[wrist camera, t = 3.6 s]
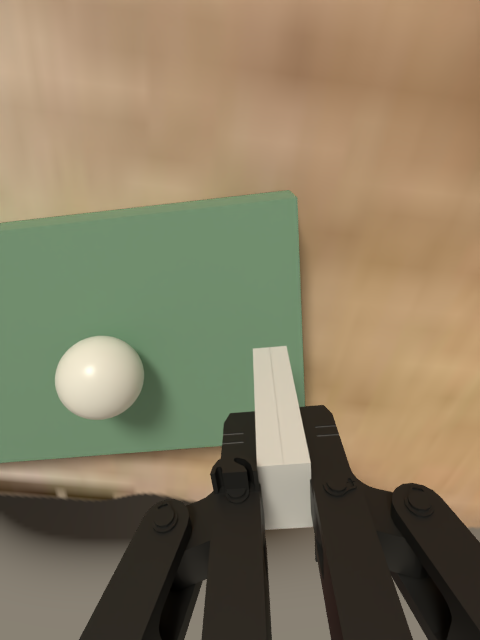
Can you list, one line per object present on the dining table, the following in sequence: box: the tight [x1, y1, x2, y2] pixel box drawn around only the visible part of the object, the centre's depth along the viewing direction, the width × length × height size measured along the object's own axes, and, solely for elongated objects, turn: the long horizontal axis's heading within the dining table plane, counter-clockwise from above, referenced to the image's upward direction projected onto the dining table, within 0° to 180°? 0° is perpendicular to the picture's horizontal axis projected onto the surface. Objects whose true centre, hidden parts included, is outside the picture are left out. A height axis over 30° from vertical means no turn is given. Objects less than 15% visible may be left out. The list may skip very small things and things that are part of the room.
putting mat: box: [0, 190, 305, 463], centre depth 21 cm, size 28×14×3 cm, turn 96°
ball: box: [55, 336, 144, 420], centre depth 17 cm, size 4×4×4 cm
